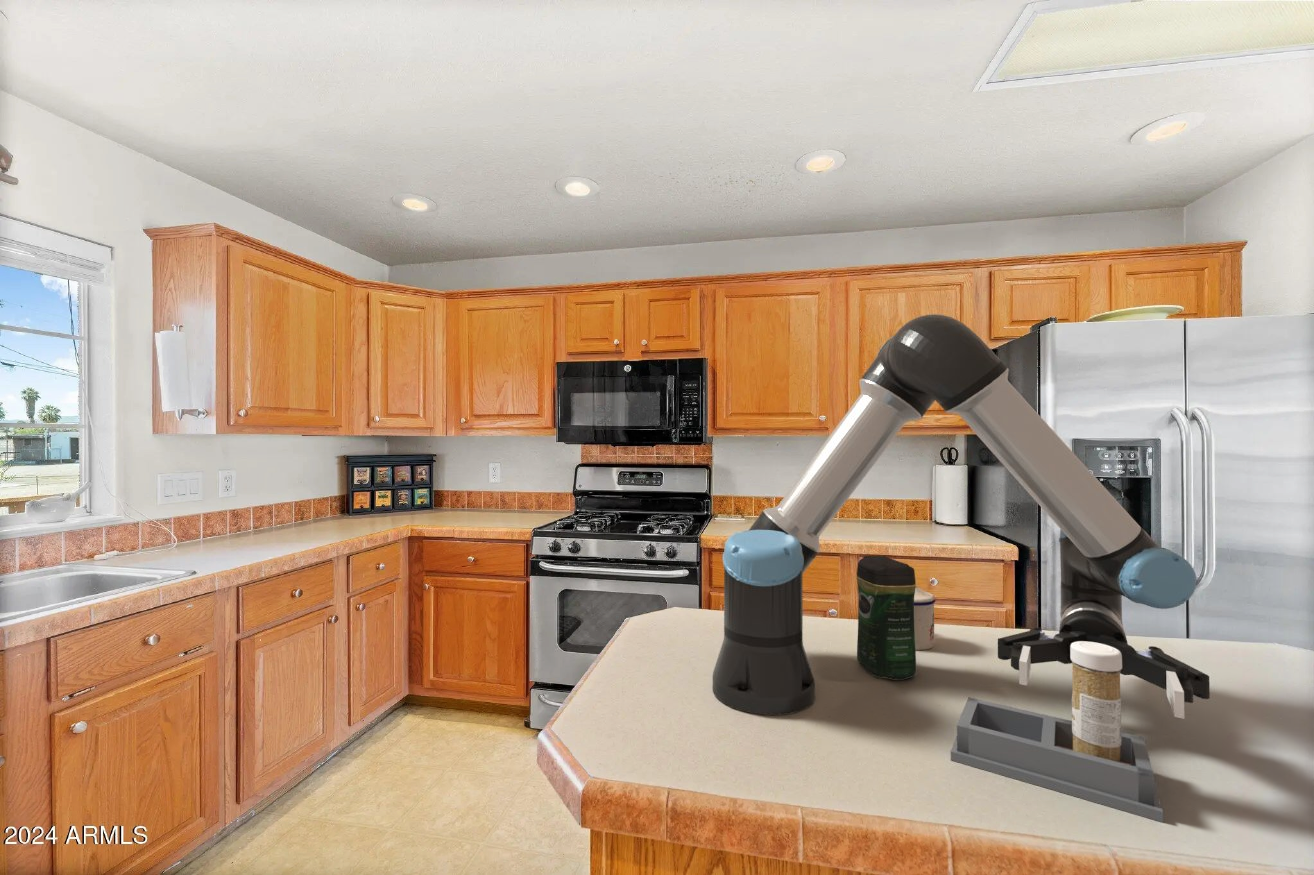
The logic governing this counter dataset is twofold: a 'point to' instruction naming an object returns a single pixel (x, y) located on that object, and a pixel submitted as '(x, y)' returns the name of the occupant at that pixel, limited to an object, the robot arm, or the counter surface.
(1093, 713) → the sprinkles bottle
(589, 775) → the counter surface
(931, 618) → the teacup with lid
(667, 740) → the counter surface
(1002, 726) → the bottle caddy
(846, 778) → the counter surface
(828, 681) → the counter surface
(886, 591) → the coffee jar
